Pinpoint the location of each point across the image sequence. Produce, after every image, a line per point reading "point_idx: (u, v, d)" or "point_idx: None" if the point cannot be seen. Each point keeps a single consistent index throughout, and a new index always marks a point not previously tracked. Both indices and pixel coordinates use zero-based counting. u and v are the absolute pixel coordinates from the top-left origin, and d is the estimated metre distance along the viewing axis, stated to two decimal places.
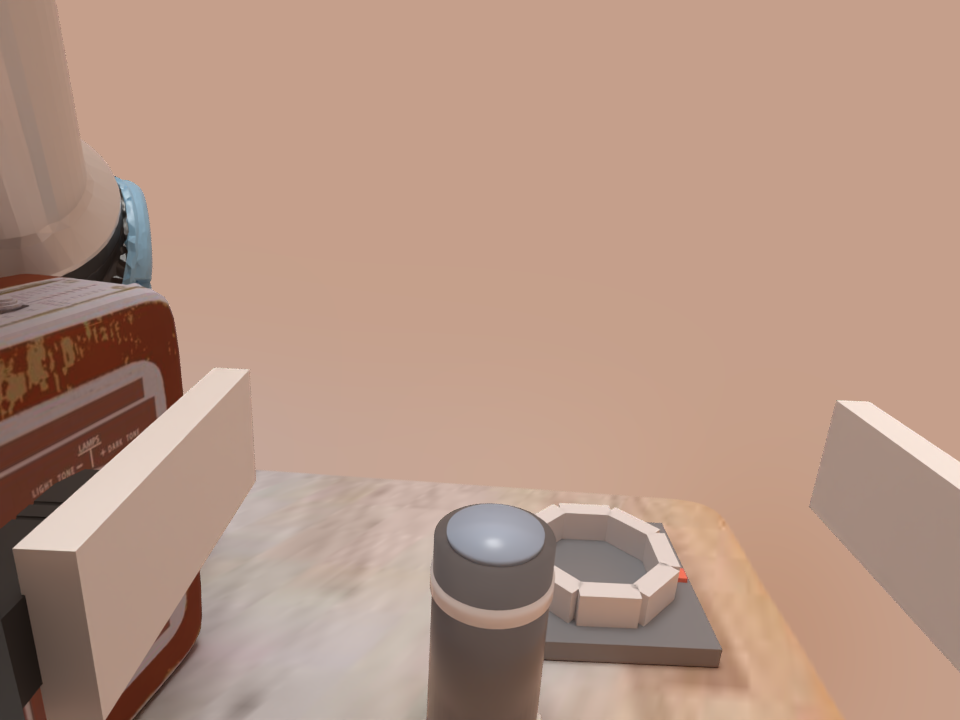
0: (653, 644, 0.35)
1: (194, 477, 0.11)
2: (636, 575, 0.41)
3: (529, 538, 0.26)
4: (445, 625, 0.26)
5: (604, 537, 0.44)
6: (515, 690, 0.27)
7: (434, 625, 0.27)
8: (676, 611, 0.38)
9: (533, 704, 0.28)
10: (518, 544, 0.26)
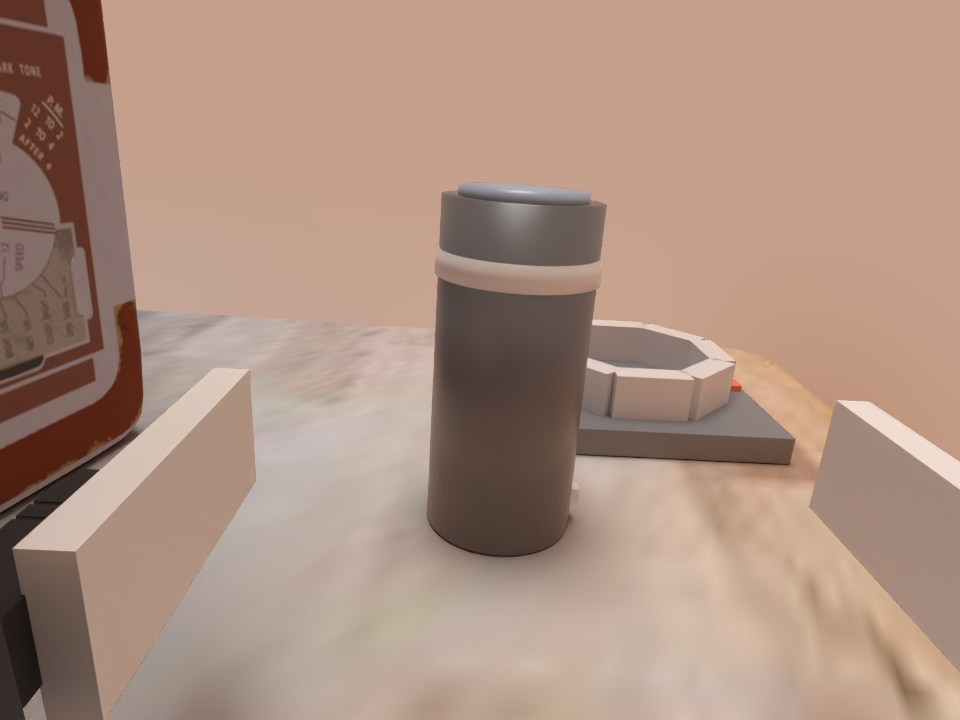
0: (710, 433, 0.28)
1: (194, 477, 0.11)
2: None
3: (571, 192, 0.19)
4: (456, 308, 0.19)
5: (636, 357, 0.37)
6: (551, 403, 0.20)
7: (441, 322, 0.20)
8: (733, 411, 0.31)
9: (571, 440, 0.21)
10: (557, 192, 0.19)
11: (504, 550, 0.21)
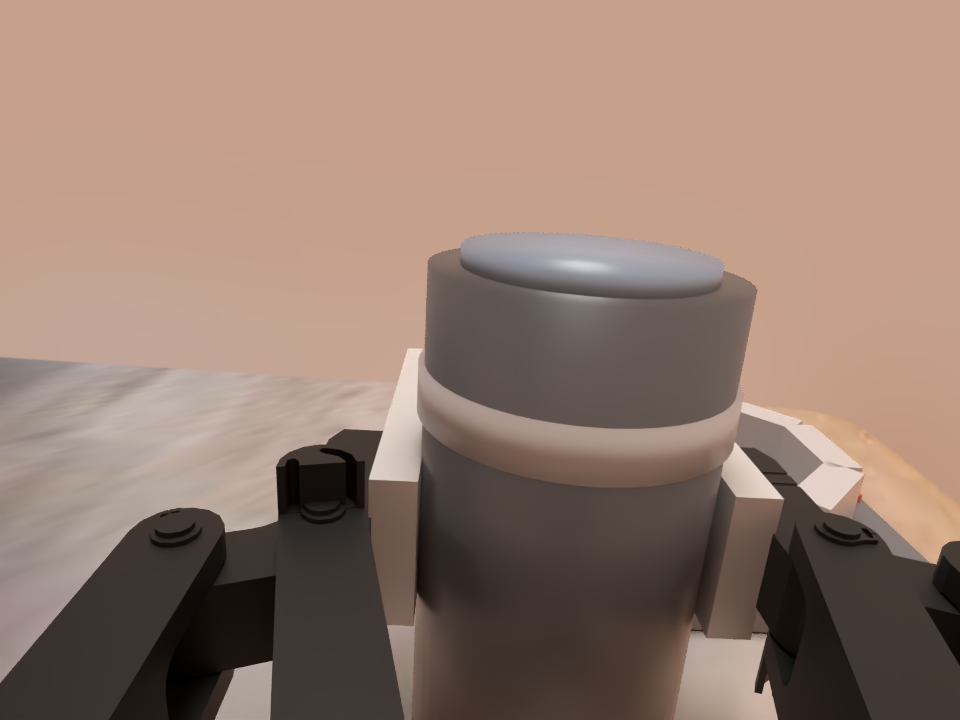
0: None
1: None
2: None
3: (683, 260, 0.10)
4: (458, 496, 0.10)
5: None
6: (645, 673, 0.10)
7: (428, 507, 0.10)
8: None
9: (673, 711, 0.11)
10: (662, 264, 0.09)
11: None
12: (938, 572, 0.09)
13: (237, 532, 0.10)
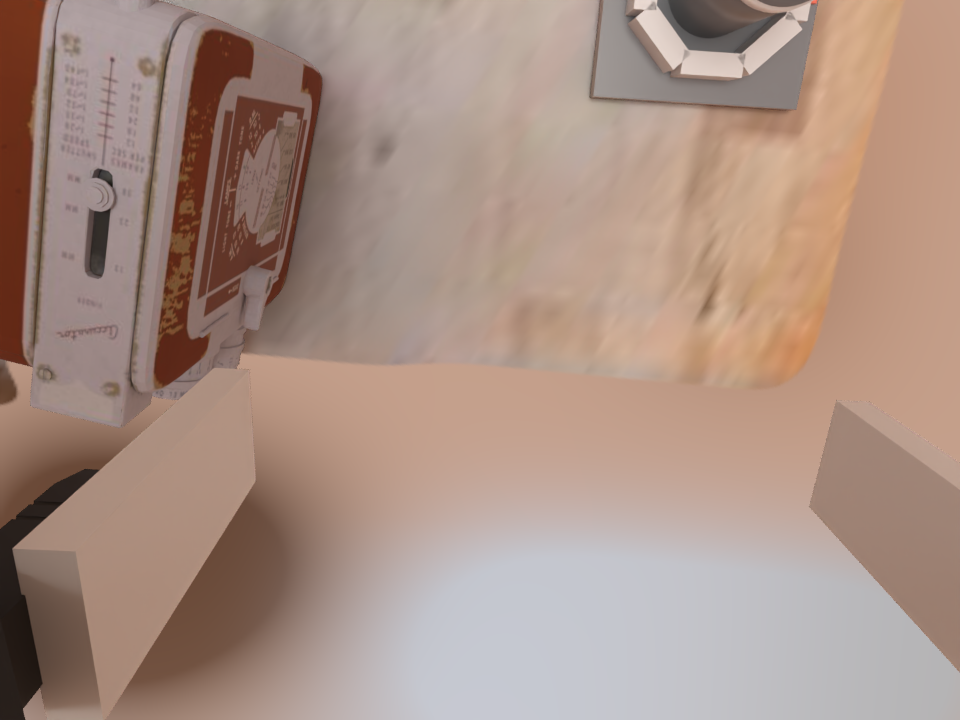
0: (735, 102, 0.38)
1: (194, 477, 0.11)
2: None
3: None
4: None
5: None
6: None
7: None
8: (778, 55, 0.37)
9: None
10: None
11: (708, 37, 0.37)
12: None
13: None
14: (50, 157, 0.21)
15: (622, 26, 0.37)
